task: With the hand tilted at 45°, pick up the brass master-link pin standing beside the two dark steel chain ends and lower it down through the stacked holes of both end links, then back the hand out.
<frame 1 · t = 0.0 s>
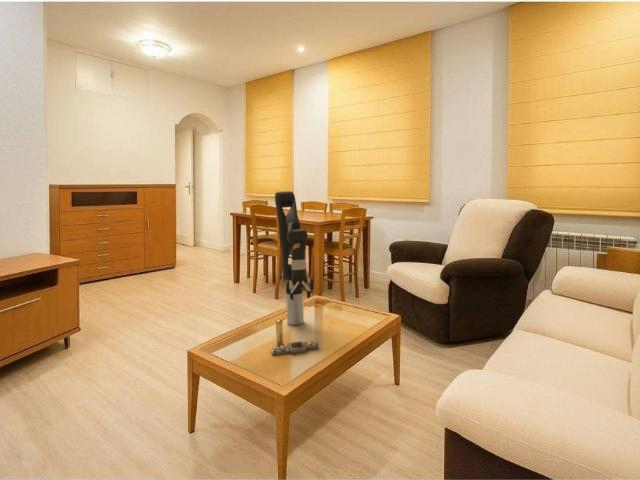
hand: (300, 299, 200), 17 cm above the table, tool pointing down, fingers open, 8 cm apart
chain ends: (296, 350, 178), on the table
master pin: (280, 344, 185), on the table
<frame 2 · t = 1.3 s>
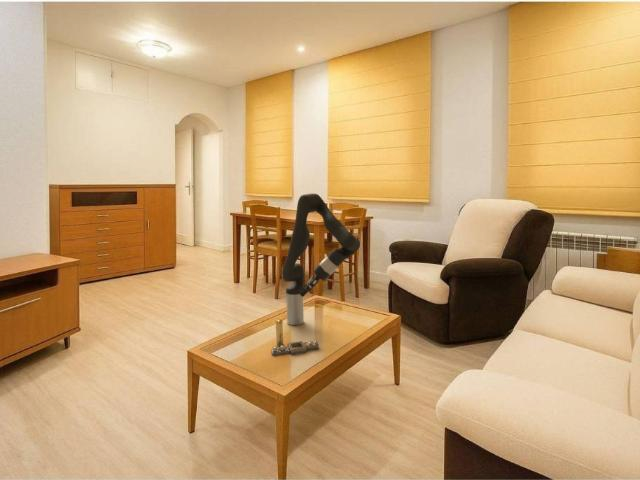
hand: (302, 293, 180), 25 cm above the table, tool tilted 45°, fingers open, 8 cm apart
nothing on the table moved.
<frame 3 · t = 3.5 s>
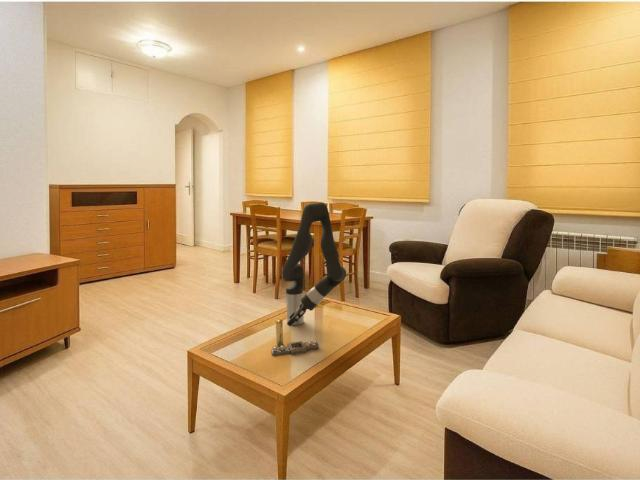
hand: (289, 321, 183), 11 cm above the table, tool tilted 45°, fingers open, 8 cm apart
nothing on the table moved.
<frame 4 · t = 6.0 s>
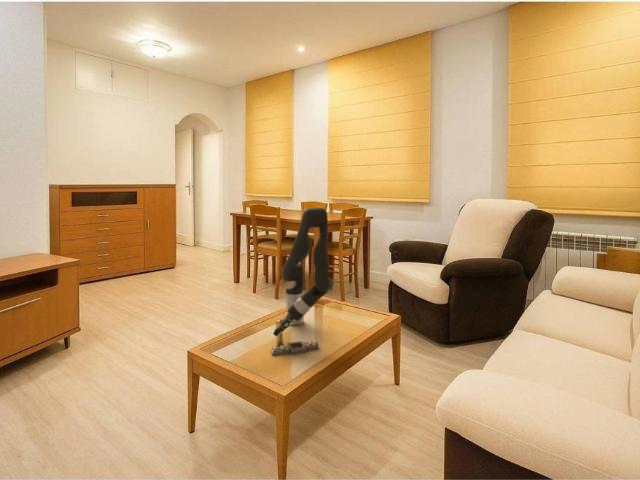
hand: (275, 333, 184), 6 cm above the table, tool tilted 45°, fingers closed on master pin, 3 cm apart
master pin: (280, 344, 184), on the table, touching gripper
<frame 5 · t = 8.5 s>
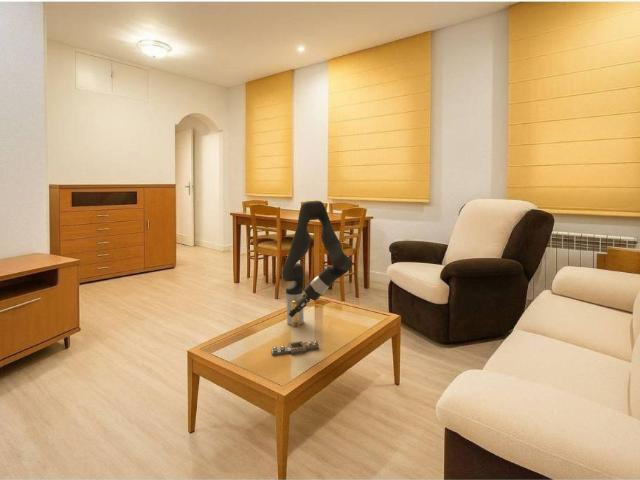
hand: (291, 314, 175), 17 cm above the table, tool tilted 45°, fingers closed on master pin, 3 cm apart
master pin: (295, 326, 176), point 11 cm above the table, touching gripper
when the fingers open (7 cm above the table, at t = 11.1 s): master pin stays where it is, resting in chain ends.
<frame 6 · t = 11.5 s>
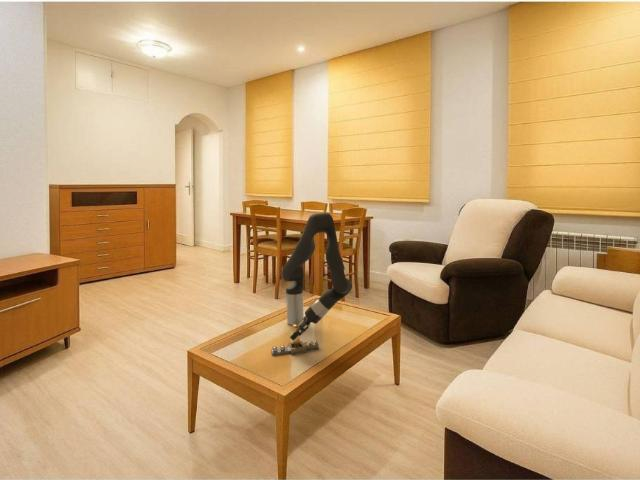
hand: (292, 335, 177), 7 cm above the table, tool tilted 45°, fingers open, 7 cm apart
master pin: (296, 350, 178), resting in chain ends
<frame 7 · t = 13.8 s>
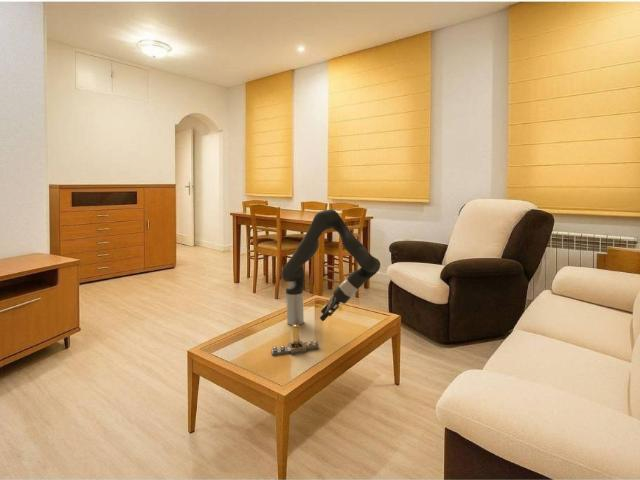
hand: (321, 316, 176), 16 cm above the table, tool tilted 45°, fingers open, 8 cm apart
nothing on the table moved.
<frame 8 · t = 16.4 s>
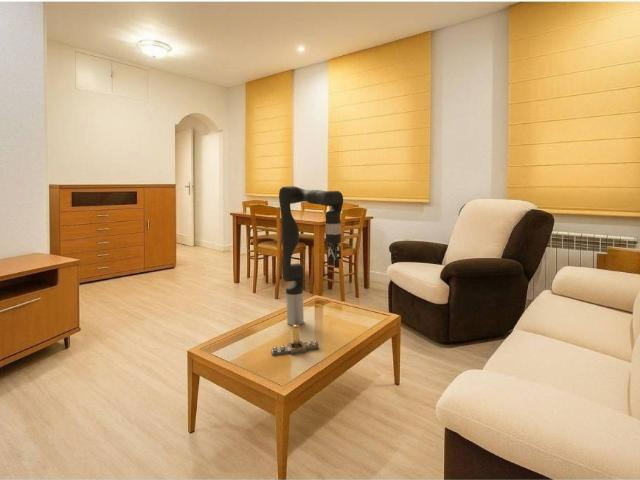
hand: (333, 265, 188), 36 cm above the table, tool pointing down, fingers open, 8 cm apart
nothing on the table moved.
at the end: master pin 0.1 cm off-centre on the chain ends, point 0.0 cm above the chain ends's base; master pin tilted 0°; the gripper is holding nothing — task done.
